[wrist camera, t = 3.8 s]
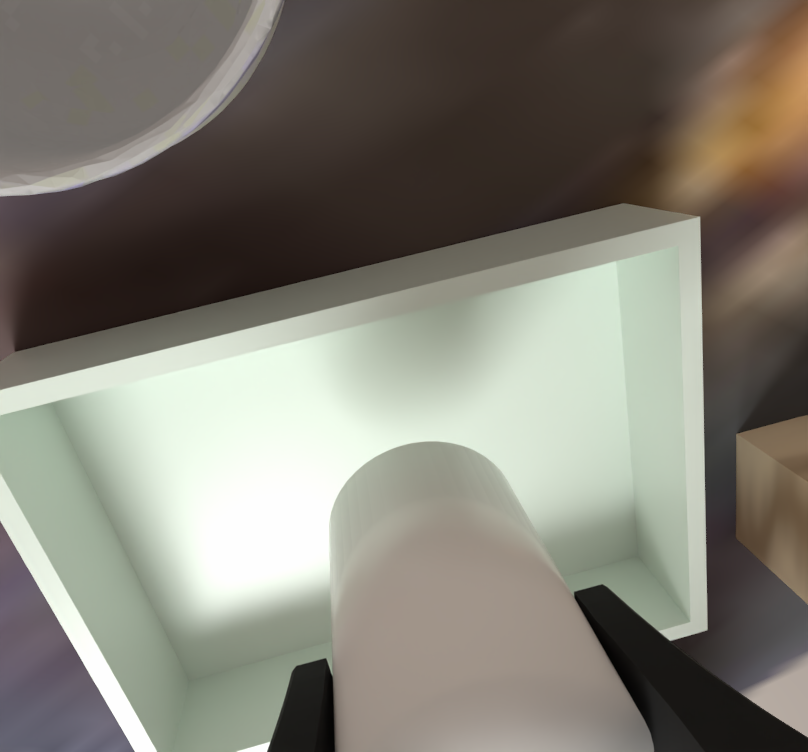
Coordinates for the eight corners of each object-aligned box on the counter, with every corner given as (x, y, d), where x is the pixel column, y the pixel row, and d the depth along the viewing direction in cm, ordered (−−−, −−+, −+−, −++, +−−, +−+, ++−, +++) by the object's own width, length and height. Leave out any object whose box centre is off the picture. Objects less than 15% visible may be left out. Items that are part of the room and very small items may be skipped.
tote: (647, 555, 24) (707, 630, 20) (182, 685, 23) (156, 788, 19) (623, 203, 19) (700, 216, 15) (14, 352, 18) (-67, 406, 14)
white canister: (521, 581, 17) (650, 857, 10) (346, 617, 16) (364, 927, 10) (509, 424, 15) (659, 641, 8) (312, 461, 14) (306, 717, 8)
